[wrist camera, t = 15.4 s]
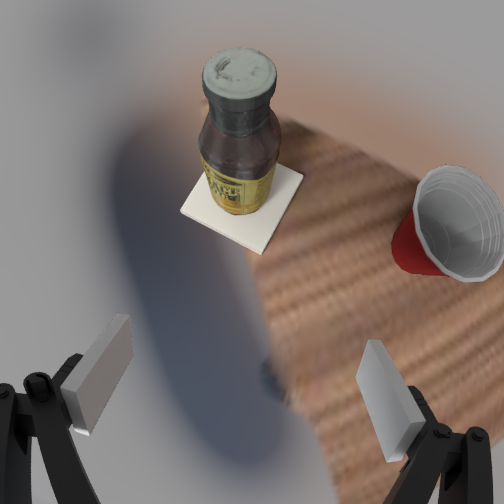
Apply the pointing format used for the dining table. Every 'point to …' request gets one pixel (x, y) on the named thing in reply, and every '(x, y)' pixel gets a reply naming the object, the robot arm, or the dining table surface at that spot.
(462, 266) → the plastic cup
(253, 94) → the sauce bottle
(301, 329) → the dining table surface
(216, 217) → the cream pad
